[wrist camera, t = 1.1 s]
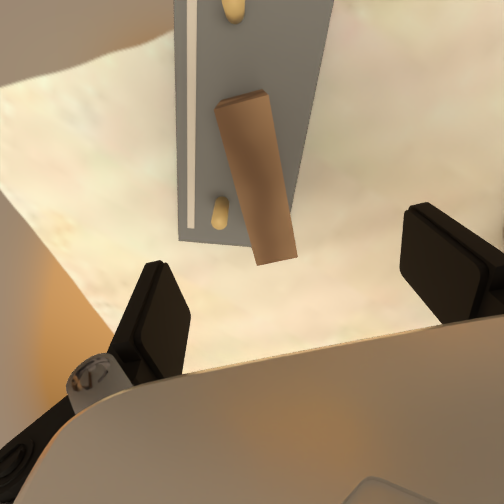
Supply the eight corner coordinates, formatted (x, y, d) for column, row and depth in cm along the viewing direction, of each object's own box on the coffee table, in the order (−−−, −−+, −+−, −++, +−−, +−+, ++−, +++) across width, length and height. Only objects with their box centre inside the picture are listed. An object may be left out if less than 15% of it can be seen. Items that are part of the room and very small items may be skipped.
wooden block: (262, 88, 27) (268, 94, 20) (286, 220, 34) (297, 257, 27) (220, 100, 27) (212, 109, 20) (253, 227, 34) (256, 265, 28)
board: (342, -60, 22) (372, -100, 17) (281, 244, 37) (287, 273, 32) (174, -90, 21) (152, -143, 16) (180, 236, 36) (169, 263, 31)
